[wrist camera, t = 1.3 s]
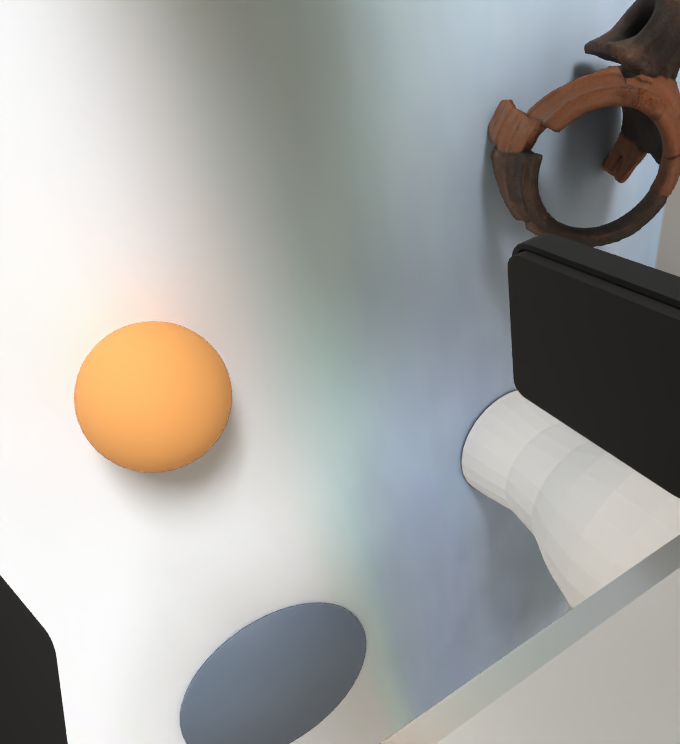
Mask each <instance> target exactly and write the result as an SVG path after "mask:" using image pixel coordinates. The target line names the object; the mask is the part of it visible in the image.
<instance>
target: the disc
mask: <svg viewBox="0 0 680 744" xmlns="http://www.w3.org/2000/svg"><path fill="white" fill-rule="evenodd" d="M365 653H366V637H365V632H364V629H363V627H362V625H361V623H360V622H359V621H358V619H357V618H356V617H355V616H354V615H353V614H352V613H351V612H350V611H348V610H346V609H345V608H343V607H340V606H337V605H333V604H328V603H308V604H301V605H296V606H291V607H288V608H285V609H282V610H278V611H276V612H274V613H271V614H269V615H266V616H264V617H262V618H261V619H259V620H257V621H255V622H253V623H251V624H250V625H248V626H246V627H245V628H243V629H242V630H240V631H239V632H237V633H236V634H235V635H233V636H232V637H231V638H229V639H228V640H227V641H226V642H225V643H224V644H222V645H221V646H220V647H219V648H218V649H217V650H216V651H215V652H214V653H213V654H212V655H211V656H210V657H209V658H208V659H207V660H206V662H205V663H204V664H203V665H202V667H201V668H200V669H199V670H198V672H197V673H196V675H195V677H194V678H193V680H192V681H191V683H190V685H189V687H188V689H187V691H186V693H185V696H184V699H183V702H182V705H181V711H180V727H181V731H182V735H183V737H184V739H185V741H186V743H187V744H289V743H291V742H293V741H294V740H296V739H298V738H299V737H301V736H303V735H304V734H305V733H307V732H308V731H310V730H311V729H313V728H314V727H315V726H316V725H317V724H319V723H320V722H321V721H322V720H323V719H325V718H326V717H327V716H328V715H329V714H330V713H331V712H332V711H333V710H334V709H335V708H336V707H337V706H338V704H339V703H340V702H341V701H342V700H343V698H344V697H345V696H346V695H347V693H348V692H349V690H350V689H351V687H352V686H353V684H354V682H355V681H356V679H357V677H358V675H359V673H360V670H361V668H362V665H363V662H364V658H365Z"/></svg>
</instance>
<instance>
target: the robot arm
mask: <svg viewBox="0 0 680 744" xmlns="http://www.w3.org/2000/svg"><path fill="white" fill-rule="evenodd" d="M508 283H509V301H510V320H511V338H512V357H513V375H514V383H515V386H516V388H517V390H518V391H519V393H520V394H521V395H522V396H523V397H524V398H526V399H527V400H529V401H530V402H532V403H533V404H535V405H536V406H538V407H539V408H541V409H542V410H544V411H545V412H547V413H548V414H550V415H552V416H553V417H555V418H556V419H558V420H559V421H561V422H562V423H564V424H565V425H567V426H568V427H570V428H571V429H573V430H574V431H576V432H577V433H579V434H580V435H582V436H584V437H585V438H587V439H588V440H590V441H591V442H593V443H594V444H596V445H597V446H599V447H600V448H602V449H603V450H605V451H606V452H608V453H609V454H611V455H613V456H614V457H616V458H617V459H619V460H620V461H622V462H623V463H625V464H626V465H628V466H629V467H631V468H632V469H634V470H635V471H637V472H638V473H640V474H641V475H643V476H645V477H646V478H648V479H649V480H651V481H652V482H654V483H655V484H657V485H658V486H660V487H661V488H663V489H664V490H666V491H667V492H669V493H670V494H672V495H674V496H676V497H678V498H680V277H678V276H675V275H672V274H669V273H666V272H663V271H660V270H658V269H655V268H652V267H649V266H646V265H643V264H640V263H637V262H634V261H631V260H628V259H625V258H622V257H619V256H616V255H613V254H610V253H607V252H605V251H602V250H599V249H596V248H593V247H590V246H587V245H584V244H581V243H578V242H575V241H572V240H569V239H566V238H563V237H560V236H557V235H554V234H551V233H543V234H540V235H538V236H536V237H534V238H531V239H529V240H527V241H525V242H523V243H520V244H518V245H517V246H516V247H515V248H514V250H513V253H512V257H511V258H510V259H509V261H508ZM0 744H68V743H67V735H66V728H65V720H64V712H63V704H62V697H61V689H60V681H59V674H58V666H57V658H56V653H55V649H54V646H53V643H52V641H51V638H50V637H49V635H48V633H47V632H46V630H45V629H44V628H43V626H42V625H41V624H40V623H39V622H38V620H37V619H36V618H35V617H34V616H33V614H32V613H31V612H30V611H29V609H28V608H27V607H26V606H25V605H24V603H23V602H22V601H21V600H20V599H19V597H18V596H17V595H16V594H15V593H14V591H13V590H12V589H11V588H10V586H9V585H8V584H7V583H6V582H5V580H4V579H3V578H2V577H1V576H0ZM380 744H680V535H678V536H677V537H675V538H674V539H672V540H671V541H669V542H668V543H666V544H665V545H664V546H662V547H661V548H659V549H658V550H656V551H655V552H653V553H652V554H650V555H649V556H648V557H646V558H645V559H643V560H642V561H640V562H639V563H638V564H636V565H635V566H633V567H632V568H630V569H629V570H628V571H626V572H625V573H623V574H622V575H620V576H619V577H617V578H616V579H615V580H613V581H612V582H610V583H609V584H607V585H606V586H605V587H603V588H602V589H600V590H599V591H597V592H596V593H594V594H593V595H592V596H590V597H589V598H587V599H586V600H584V601H583V602H582V603H580V604H579V605H577V606H576V607H574V608H573V609H572V610H570V611H569V612H567V613H566V614H564V615H563V616H561V617H560V618H559V619H557V620H556V621H554V622H553V623H551V624H550V625H549V626H547V627H546V628H544V629H543V630H541V631H540V632H538V633H537V634H536V635H534V636H533V637H531V638H530V639H528V640H527V641H526V642H524V643H523V644H521V645H520V646H518V647H517V648H516V649H514V650H513V651H511V652H510V653H508V654H507V655H506V656H504V657H503V658H501V659H500V660H498V661H497V662H496V663H494V664H493V665H491V666H490V667H488V668H487V669H486V670H484V671H483V672H481V673H480V674H478V675H477V676H475V677H474V678H473V679H471V680H470V681H468V682H467V683H465V684H464V685H463V686H461V687H460V688H458V689H457V690H455V691H454V692H453V693H451V694H450V695H448V696H447V697H446V698H444V699H443V700H441V701H440V702H438V703H437V704H436V705H434V706H433V707H431V708H430V709H429V710H427V711H426V712H424V713H423V714H421V715H420V716H419V717H417V718H416V719H414V720H413V721H411V722H410V723H409V724H407V725H406V726H404V727H403V728H402V729H400V730H399V731H397V732H396V733H394V734H393V735H392V736H390V737H389V738H387V739H386V740H385V741H383V742H382V743H380Z"/></svg>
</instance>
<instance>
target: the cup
mask: <svg viewBox="0 0 680 744" xmlns="http://www.w3.org/2000/svg"><path fill="white" fill-rule="evenodd" d="M461 463H462V470H463V475H464V476H465V478H466V480H467V482H468V483H469V484H470V485H472V486H473V487H474V488H476V489H477V490H479V491H480V492H482V493H483V494H485V495H486V496H488V497H489V498H491V499H493V500H494V501H496V502H498V503H500V504H501V505H503V506H505V507H507V508H508V509H510V510H512V511H513V512H514V513H515V514H516V515H517V517H518V518H519V519H520V520H521V521H522V522H523V523H524V524H525V526H526V527H527V528H528V529H529V530H530V531H531V532H532V533H533V535H534V536H535V538H536V541H537V543H538V546H539V549H540V551H541V554H542V556H543V559H544V562H545V564H546V566H547V568H548V570H549V572H550V574H551V576H552V577H553V579H554V580H555V582H556V584H557V585H558V587H559V588H560V590H561V591H562V593H563V595H564V596H565V598H566V599H567V601H568V603H569V604H570V606H571V607H572V609H573V608H574V607H576V606H577V605H579V604H580V603H582V602H583V601H584V600H586V599H587V598H589V597H590V596H592V595H593V594H594V593H596V592H597V591H599V590H600V589H602V588H603V587H605V586H606V585H607V584H609V583H610V582H612V581H613V580H615V579H616V578H617V577H619V576H620V575H622V574H623V573H625V572H626V571H628V570H629V569H630V568H632V567H633V566H635V565H636V564H638V563H639V562H640V561H642V560H643V559H645V558H646V557H648V556H649V555H650V554H652V553H653V552H655V551H656V550H658V549H659V548H661V547H662V546H664V545H665V544H666V543H668V542H669V541H671V540H672V539H674V538H675V537H677V536H678V535H680V498H678V497H676V496H674V495H672V494H670V493H669V492H667V491H666V490H664V489H663V488H661V487H660V486H658V485H657V484H655V483H654V482H652V481H651V480H649V479H648V478H646V477H645V476H643V475H641V474H640V473H638V472H637V471H635V470H634V469H632V468H631V467H629V466H628V465H626V464H625V463H623V462H622V461H620V460H619V459H617V458H616V457H614V456H613V455H611V454H609V453H608V452H606V451H605V450H603V449H602V448H600V447H599V446H597V445H596V444H594V443H593V442H591V441H590V440H588V439H587V438H585V437H584V436H582V435H580V434H579V433H577V432H576V431H574V430H573V429H571V428H570V427H568V426H567V425H565V424H564V423H562V422H561V421H559V420H558V419H556V418H555V417H553V416H552V415H550V414H548V413H547V412H545V411H544V410H542V409H541V408H539V407H538V406H536V405H535V404H533V403H532V402H530V401H529V400H527V399H526V398H524V397H523V396H522V395H521V394H520V393H519V391H518V390H517V391H514V392H510V393H508V394H507V395H505V396H503V397H501V398H499V399H498V400H496V401H495V402H494V403H493V404H492V405H491V406H489V407H488V408H487V409H486V410H485V411H484V412H483V414H482V415H481V416H480V417H479V418H478V420H477V421H476V422H475V424H474V426H473V427H472V429H471V431H470V433H469V434H468V437H467V439H466V442H465V445H464V448H463V453H462V462H461Z"/></svg>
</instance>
